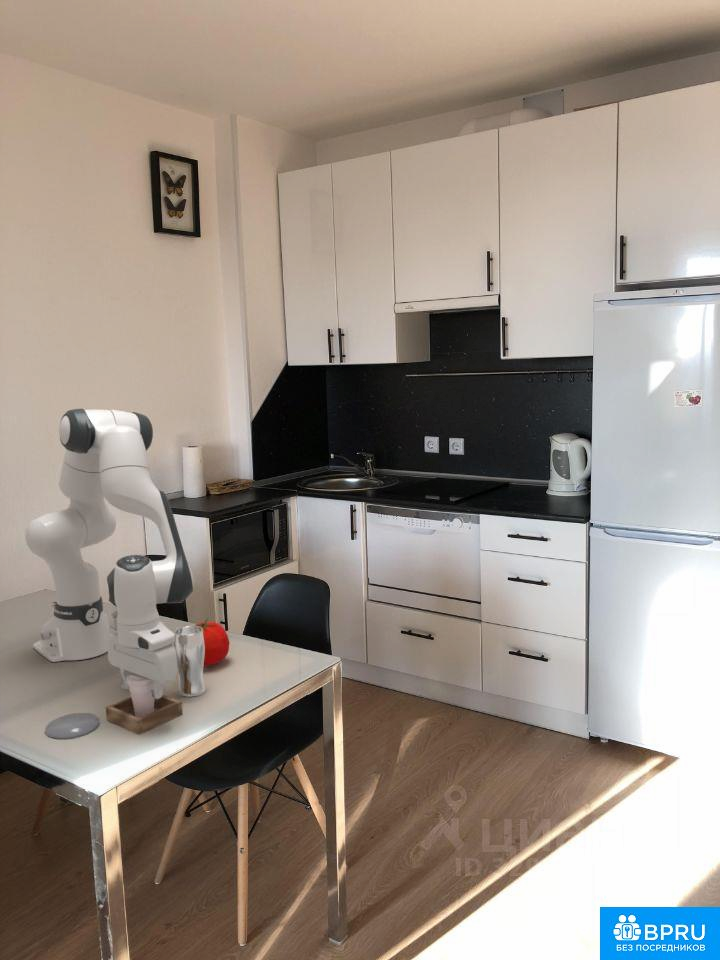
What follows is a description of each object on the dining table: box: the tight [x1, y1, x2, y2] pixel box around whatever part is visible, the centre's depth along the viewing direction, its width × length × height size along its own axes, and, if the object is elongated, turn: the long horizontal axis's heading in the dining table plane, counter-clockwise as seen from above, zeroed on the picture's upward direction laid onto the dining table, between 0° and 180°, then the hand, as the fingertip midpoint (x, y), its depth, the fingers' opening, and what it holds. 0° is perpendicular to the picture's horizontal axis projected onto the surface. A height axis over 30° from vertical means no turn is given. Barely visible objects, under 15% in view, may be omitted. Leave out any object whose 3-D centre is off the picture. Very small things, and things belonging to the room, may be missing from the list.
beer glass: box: [173, 625, 206, 698], centre depth 192 cm, size 7×7×15 cm
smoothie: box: [127, 673, 155, 718], centre depth 179 cm, size 6×6×14 cm
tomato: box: [194, 618, 230, 667], centre depth 208 cm, size 12×12×11 cm
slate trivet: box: [44, 712, 101, 740], centre depth 177 cm, size 11×11×1 cm
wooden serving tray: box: [105, 694, 183, 735], centre depth 180 cm, size 12×12×3 cm
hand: (143, 692), depth 179 cm, fingers open, 8 cm apart
